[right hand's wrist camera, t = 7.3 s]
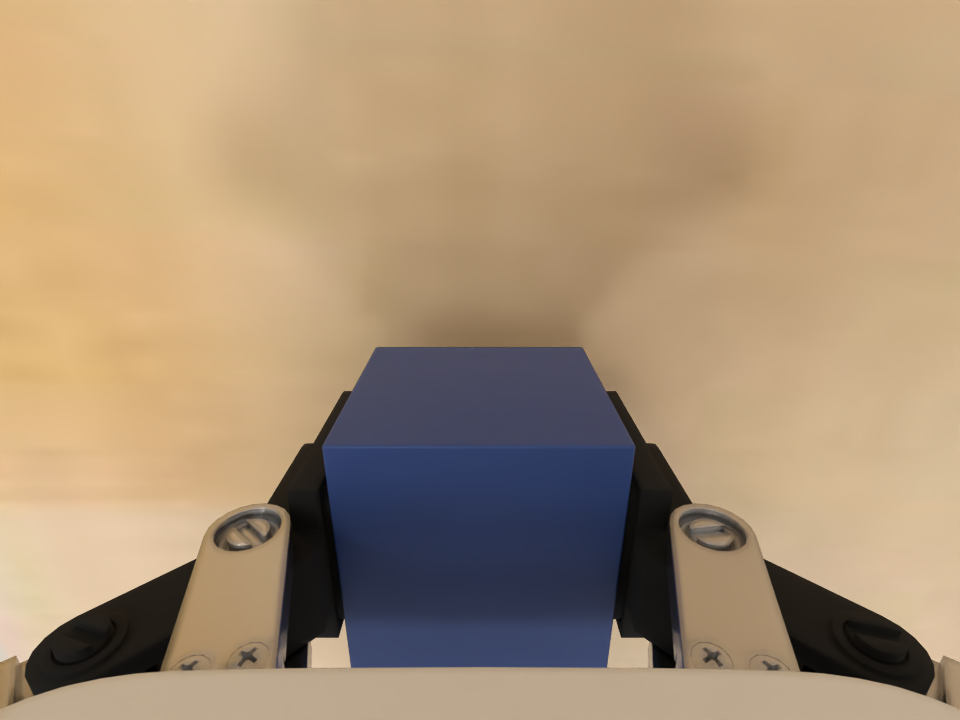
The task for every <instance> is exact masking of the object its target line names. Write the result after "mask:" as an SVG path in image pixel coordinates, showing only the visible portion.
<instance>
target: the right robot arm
mask: <svg viewBox="0 0 960 720" xmlns="http://www.w3.org/2000/svg"><path fill="white" fill-rule="evenodd" d="M351 392H352V391H344V392H343V393H342V395H341V397H340V398H339V400H338V402H337V404H336V405H335V407H334V409H333V410H332V412H331V414H330V416H329V417H328V419H327V421H326V423H325V424H324V426H323V428H322V430H321V431H320V433H319V435H318V436H317V438H316V440H315V442H314V443H307V444H304V445H303V446H302V448H301V449H300V451H299V452H298V454H297V456H296V457H295V459H294V461H293V462H292V464H291V466H290V467H289V469H288V471H287V472H286V474H285V475H284V477H283V479H282V480H281V482H280V484H279V485H278V487H277V489H276V490H275V492H274V493H273V495H272V497H271V498H270V500H269V502H268V503H267V504H253V505H249V506H244V507H240V508H238V509H236V510H233V511H231V512H228V513H227V514H225V515H224V516H222V517H220V518H219V519H217V520H216V521H215V522H214V523H213V524H212V525H211V526H210V527H209V528H208V530H207V532H206V533H205V535H204V538H203V541H202V544H201V547H200V550H199V553H198V556H197V559H195V560H193V561H191V562H189V563H187V564H185V565H182V566H180V567H178V568H176V569H174V570H172V571H170V572H168V573H166V574H164V575H162V576H160V577H158V578H156V579H153V580H151V581H149V582H147V583H145V584H143V585H141V586H139V587H137V588H135V589H133V590H131V591H129V592H127V593H124V594H122V595H120V596H118V597H116V598H114V599H112V600H110V601H108V602H106V603H104V604H102V605H100V606H98V607H95V608H93V609H91V610H89V611H87V612H85V613H83V614H81V615H79V616H77V617H75V618H73V619H72V620H70V621H68V622H66V623H65V624H63V625H61V626H60V627H58V628H57V629H56V630H54V631H53V632H52V633H51V634H49V635H48V636H47V637H46V638H44V640H43V641H42V642H41V643H40V644H39V645H38V646H37V647H36V648H35V650H34V651H33V652H32V654H31V656H30V658H29V659H28V660H27V661H24V662H22V663H19V661H18V659H17V656H14V657H12V658H9V659H7V660H5V661H3V662H0V720H960V662H957V661H955V660H953V659H950V658H948V657H946V656H943V658H942V660H941V662H940V663H938V662H936V661H933V660H931V658H930V656H929V654H928V653H927V651H926V650H925V649H924V648H923V646H922V645H921V644H920V643H919V642H918V641H917V640H916V639H915V638H914V637H913V636H912V635H910V634H909V633H908V632H907V631H905V630H904V629H903V628H901V627H900V626H899V625H897V624H895V623H893V622H892V621H890V620H888V619H886V618H885V617H883V616H881V615H879V614H877V613H875V612H873V611H871V610H868V609H866V608H864V607H862V606H860V605H858V604H856V603H854V602H852V601H850V600H848V599H846V598H844V597H842V596H839V595H837V594H835V593H833V592H831V591H829V590H827V589H825V588H823V587H821V586H819V585H817V584H815V583H813V582H810V581H808V580H806V579H804V578H802V577H800V576H798V575H796V574H794V573H792V572H790V571H788V570H786V569H784V568H781V567H779V566H777V565H775V564H773V563H771V562H769V561H767V560H765V559H763V556H762V553H761V550H760V547H759V544H758V541H757V538H756V535H755V533H754V532H753V530H752V528H751V527H750V526H749V525H748V524H747V523H746V522H745V521H744V520H743V519H741V518H740V517H738V516H736V515H735V514H733V513H732V512H729V511H727V510H724V509H722V508H720V507H716V506H711V505H707V504H692V502H691V500H690V499H689V497H688V496H687V494H686V492H685V491H684V489H683V487H682V486H681V484H680V482H679V481H678V479H677V477H676V476H675V474H674V473H673V471H672V469H671V468H670V466H669V464H668V463H667V461H666V459H665V458H664V456H663V455H662V453H661V451H660V450H659V448H658V447H657V446H656V444H652V443H646V442H645V440H644V439H643V437H642V435H641V433H640V432H639V430H638V428H637V427H636V425H635V423H634V421H633V420H632V418H631V416H630V414H629V413H628V411H627V409H626V408H625V406H624V404H623V402H622V401H621V399H620V397H619V395H618V394H617V392H616V391H606V392H607V394H608V396H609V398H610V400H611V402H612V404H613V405H614V407H615V409H616V411H617V413H618V415H619V417H620V419H621V420H622V422H623V424H624V426H625V428H626V430H627V432H628V434H629V435H630V437H631V439H632V441H633V443H634V445H635V454H634V462H633V470H632V477H631V485H630V493H629V501H628V508H627V516H626V524H625V531H624V539H623V547H622V555H621V562H620V570H619V578H618V585H617V593H616V601H615V609H614V616H613V619H616V621H617V625H618V628H619V632H620V635H621V638H645V639H647V640H648V641H649V647H648V664H649V668H540V667H420V668H311V664H312V647H311V641H312V640H313V639H314V638H339V634H340V631H341V627H342V624H343V621H344V619H345V617H344V609H343V602H342V594H341V586H340V579H339V571H338V564H337V556H336V548H335V541H334V533H333V526H332V518H331V510H330V503H329V495H328V488H327V480H326V472H325V465H324V457H323V450H322V446H323V444H324V442H325V440H326V438H327V437H328V435H329V433H330V431H331V429H332V427H333V426H334V424H335V422H336V420H337V418H338V416H339V415H340V413H341V411H342V409H343V407H344V405H345V404H346V402H347V400H348V398H349V396H350V394H351Z"/></svg>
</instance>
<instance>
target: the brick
mask: <svg viewBox="0 0 960 720" xmlns="http://www.w3.org/2000/svg"><path fill="white" fill-rule="evenodd" d="M322 450H323V457H324V465H325V472H326V480H327V488H328V495H329V503H330V510H331V518H332V526H333V533H334V541H335V548H336V556H337V564H338V571H339V579H340V586H341V594H342V602H343V609H344V617H345V624H346V632H347V640H348V647H349V655H350V662H351V668H420V667H540V668H607V663H608V655H609V647H610V639H611V632H612V624H613V616H614V609H615V601H616V593H617V585H618V578H619V570H620V562H621V555H622V547H623V539H624V531H625V524H626V516H627V508H628V501H629V493H630V485H631V477H632V470H633V462H634V454H635V445H634V443H633V441H632V439H631V437H630V435H629V434H628V432H627V430H626V428H625V426H624V424H623V422H622V420H621V419H620V417H619V415H618V413H617V411H616V409H615V407H614V405H613V404H612V402H611V400H610V398H609V396H608V394H607V392H606V390H605V389H604V387H603V385H602V383H601V381H600V379H599V377H598V376H597V374H596V372H595V370H594V368H593V366H592V364H591V362H590V361H589V359H588V357H587V355H586V353H585V351H584V349H583V348H582V347H377V348H375V350H374V352H373V354H372V356H371V358H370V359H369V361H368V363H367V365H366V367H365V369H364V370H363V372H362V374H361V376H360V378H359V380H358V381H357V383H356V385H355V387H354V389H353V391H352V392H351V394H350V396H349V398H348V400H347V402H346V404H345V405H344V407H343V409H342V411H341V413H340V415H339V416H338V418H337V420H336V422H335V424H334V426H333V427H332V429H331V431H330V433H329V435H328V437H327V438H326V440H325V442H324V444H323V446H322Z"/></svg>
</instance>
